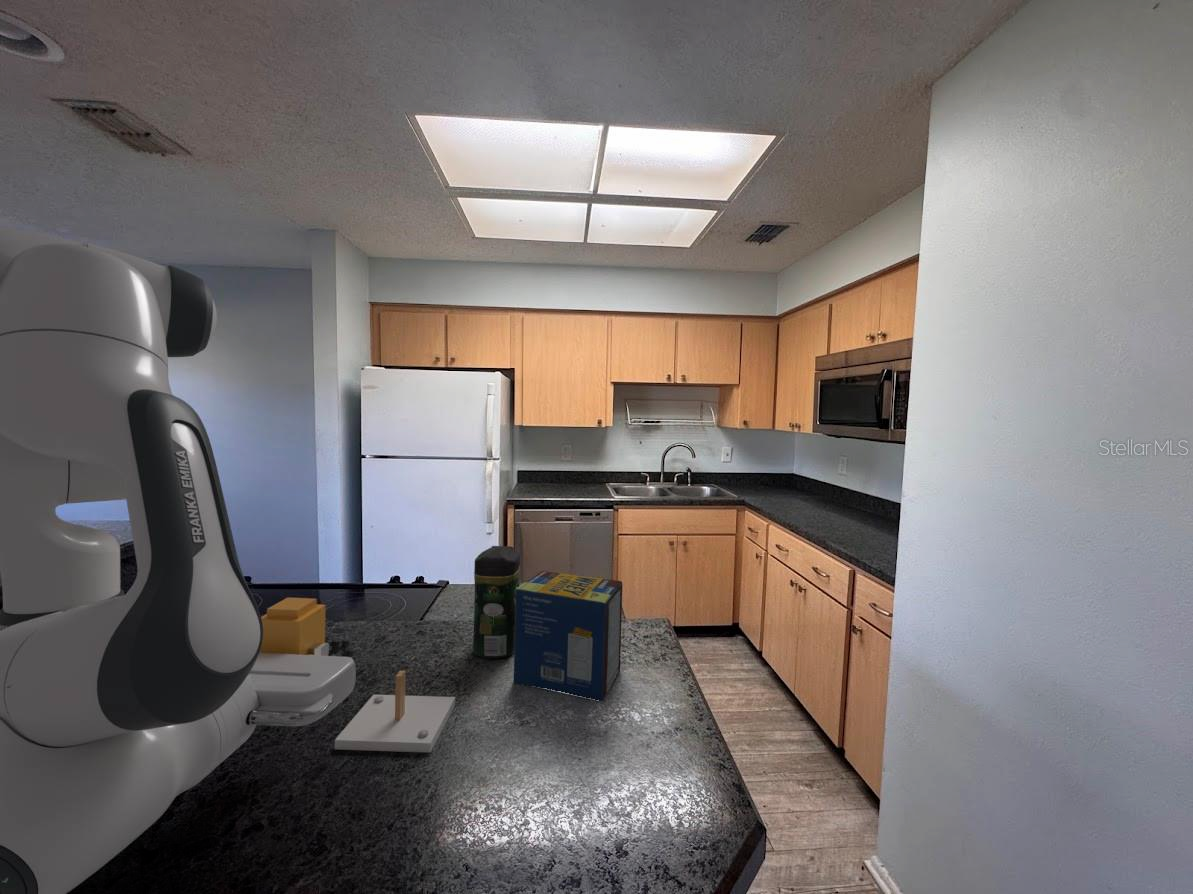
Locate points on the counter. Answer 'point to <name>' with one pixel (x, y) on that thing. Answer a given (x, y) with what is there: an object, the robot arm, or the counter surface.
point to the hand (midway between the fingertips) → (296, 647)
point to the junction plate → (397, 722)
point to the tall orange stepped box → (293, 626)
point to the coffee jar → (495, 601)
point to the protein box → (568, 633)
